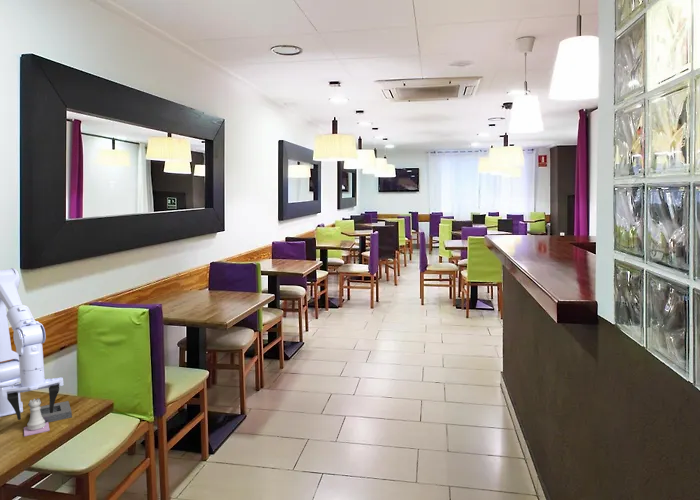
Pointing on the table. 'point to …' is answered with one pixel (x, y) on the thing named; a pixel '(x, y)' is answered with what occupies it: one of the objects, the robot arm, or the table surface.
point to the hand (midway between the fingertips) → (35, 415)
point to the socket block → (56, 412)
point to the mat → (28, 432)
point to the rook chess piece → (35, 416)
